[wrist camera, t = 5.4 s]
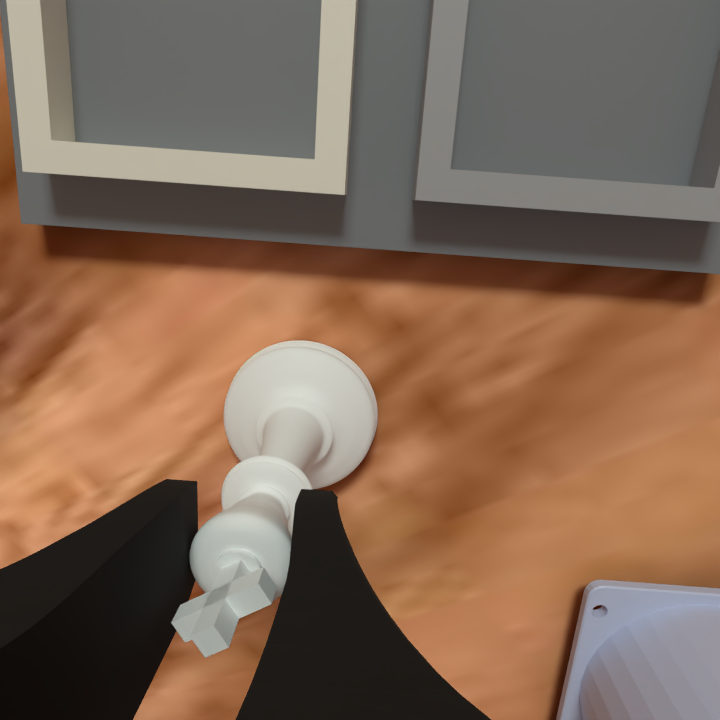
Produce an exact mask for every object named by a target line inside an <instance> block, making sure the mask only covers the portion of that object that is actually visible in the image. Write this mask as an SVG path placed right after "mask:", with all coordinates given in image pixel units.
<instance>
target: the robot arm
mask: <svg viewBox="0 0 720 720" xmlns="http://www.w3.org/2000/svg"><path fill="white" fill-rule="evenodd" d="M337 498H338V497H337V496H336V495H335V494H334V492H333V491H324V490H310V489H301V491H300V493H299V495H298V498H297V500H296V503H295V509H294V520H293V530H292V540H291V551H290V561H289V568H288V574H287V579H286V582H285V586H284V589H283V592H282V596H281V599H280V603H279V606H278V609H277V612H276V615H275V619H274V622H273V625H272V628H271V631H270V634H269V637H268V640H267V643H266V646H265V648H264V651H263V654H262V656H261V659H260V662H259V664H258V667H257V670H256V673H255V675H254V678H253V681H252V683H251V685H250V688H249V690H248V692H247V695H246V697H245V699H244V702H243V704H242V706H241V709H240V711H239V713H238V716H237V718H236V720H491V719H490V718H488V717H487V716H486V715H485V714H484V713H482V712H481V711H480V710H479V709H477V708H476V707H475V706H474V705H472V704H471V703H470V702H469V701H468V700H466V699H465V698H464V697H463V696H461V695H460V694H459V693H458V692H457V691H456V690H455V689H454V688H453V687H452V686H451V685H450V684H449V683H448V682H447V681H446V680H445V679H443V678H442V677H441V676H440V675H439V674H438V673H437V672H436V671H435V670H434V668H433V667H432V666H431V665H430V664H429V663H428V662H427V660H426V659H425V658H424V657H423V656H422V655H421V654H420V653H419V651H418V650H417V649H416V648H415V647H414V646H413V645H412V644H411V642H410V641H409V640H408V639H407V638H406V637H405V635H404V634H403V633H402V631H401V630H400V629H399V627H398V626H397V625H396V623H395V622H394V621H393V619H392V618H391V617H390V615H389V614H388V612H387V611H386V609H385V608H384V606H383V605H382V603H381V602H380V600H379V599H378V597H377V595H376V594H375V592H374V590H373V589H372V587H371V585H370V584H369V582H368V580H367V578H366V576H365V574H364V573H363V571H362V569H361V567H360V565H359V563H358V561H357V559H356V557H355V554H354V552H353V550H352V547H351V545H350V543H349V540H348V538H347V535H346V533H345V530H344V527H343V524H342V521H341V518H340V514H339V509H338V503H337ZM197 532H198V506H197V481H185V480H171V479H166V480H164V481H162V482H160V483H158V484H156V485H154V486H152V487H151V488H149V489H147V490H145V491H144V492H142V493H140V494H139V495H137V496H135V497H134V498H132V499H130V500H129V501H127V502H125V503H124V504H122V505H120V506H119V507H117V508H115V509H114V510H112V511H110V512H109V513H107V514H105V515H103V516H102V517H100V518H98V519H97V520H95V521H93V522H92V523H90V524H88V525H86V526H85V527H83V528H81V529H79V530H77V531H75V532H73V533H72V534H70V535H68V536H66V537H64V538H62V539H60V540H59V541H57V542H55V543H53V544H51V545H49V546H47V547H45V548H44V549H42V550H40V551H38V552H36V553H34V554H32V555H30V556H28V557H26V558H24V559H22V560H20V561H17V562H15V563H13V564H11V565H9V566H7V567H4V568H2V569H0V720H133V718H134V716H135V714H136V712H137V710H138V708H139V706H140V704H141V702H142V700H143V698H144V696H145V694H146V692H147V690H148V688H149V686H150V684H151V682H152V680H153V677H154V675H155V673H156V671H157V669H158V667H159V665H160V663H161V661H162V659H163V657H164V655H165V653H166V651H167V649H168V647H169V645H170V643H171V641H172V639H173V636H174V634H175V632H176V629H175V628H174V626H173V625H172V623H171V622H172V620H173V618H174V616H175V614H176V612H177V610H178V608H179V606H180V605H181V604H183V603H186V602H188V601H189V598H190V595H191V592H192V589H193V586H194V582H195V578H194V576H193V573H192V570H191V567H190V548H191V544H192V542H193V539H194V537H195V535H196V533H197ZM597 605H602V607H601V608H599V609H596V610H593V608H594V607H596V606H597ZM556 720H720V588H707V587H693V586H680V585H666V584H652V583H639V582H625V581H612V580H595V581H593V582H590V583H589V584H588V585H587V586H586V588H585V590H584V593H583V598H582V602H581V607H580V612H579V616H578V621H577V626H576V630H575V635H574V639H573V644H572V649H571V653H570V658H569V662H568V667H567V672H566V676H565V681H564V685H563V690H562V695H561V699H560V704H559V709H558V713H557V718H556Z"/></svg>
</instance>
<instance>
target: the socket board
mask: <svg viewBox="0 0 720 720" xmlns="http://www.w3.org/2000/svg"><path fill="white" fill-rule="evenodd" d="M0 13H1V23H2V33H3V43H4V53H5V63H6V74H7V84H8V94H9V104H10V114H11V124H12V134H13V144H14V155H15V165H16V175H17V185H18V195H19V205H20V215H21V223H24V224H38V225H51V226H65V227H79V228H93V229H106V230H120V231H134V232H148V233H161V234H175V235H189V236H203V237H217V238H230V239H244V240H258V241H272V242H285V243H299V244H313V245H327V246H340V247H354V248H368V249H382V250H395V251H409V252H423V253H437V254H450V255H464V256H478V257H492V258H505V259H519V260H533V261H547V262H561V263H574V264H588V265H602V266H616V267H629V268H643V269H657V270H671V271H684V272H698V273H712V274H720V0H0Z"/></svg>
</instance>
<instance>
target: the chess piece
mask: <svg viewBox="0 0 720 720" xmlns="http://www.w3.org/2000/svg"><path fill="white" fill-rule="evenodd" d="M377 420H378V411H377V403H376V398H375V395H374V392H373V389H372V387H371V385H370V383H369V381H368V379H367V377H366V376H365V374H364V373H363V372H362V370H361V369H360V368H359V367H358V366H357V365H356V364H355V363H354V362H353V361H352V360H351V359H350V358H348V357H347V356H346V355H344V354H343V353H341V352H340V351H338V350H336V349H334V348H332V347H329V346H327V345H324V344H321V343H317V342H312V341H300V340H297V341H286V342H281V343H277V344H274V345H271V346H269V347H266V348H264V349H262V350H261V351H259V352H257V353H256V354H254V355H253V356H252V357H251V358H249V359H248V360H247V361H246V362H245V363H244V364H243V365H242V366H241V368H240V369H239V370H238V372H237V373H236V375H235V377H234V379H233V381H232V383H231V385H230V388H229V391H228V393H227V396H226V400H225V405H224V426H225V431H226V435H227V438H228V441H229V443H230V446H231V448H232V450H233V451H234V453H235V454H236V456H237V457H238V459H239V460H240V461H241V462H240V463H238V464H237V465H236V466H235V467H233V468H232V469H231V471H230V472H229V473H228V475H227V476H226V478H225V480H224V483H223V487H222V508H223V511H222V512H220V513H218V514H217V515H215V516H214V517H212V518H211V519H210V520H208V521H207V522H206V523H205V524H204V525H203V526H202V527H201V528H200V529H199V531H198V532H197V533H196V535H195V537H194V539H193V542H192V544H191V548H190V567H191V570H192V573H193V576H194V578H195V580H196V581H197V583H198V584H199V586H200V587H201V588H202V589H203V590H204V591H205V592H206V593H205V594H203V595H201V596H199V597H196V598H194V599H192V600H190V601H188V602H186V603H183V604H181V605H180V606H179V608H178V610H177V612H176V614H175V616H174V618H173V620H172V622H171V623H172V625H173V626H174V628H175V629H176V630H177V632H178V633H179V635H180V636H181V637H182V639H183V640H184V642H188V641H190V640H193V641H194V643H195V644H196V646H197V647H198V649H199V650H200V651H201V653H202V654H203V656H204V657H205V658H206V657H208V656H210V655H212V654H215V653H217V652H219V651H222V650H224V649H226V648H228V647H229V645H230V643H231V640H232V637H233V634H234V631H235V629H236V626H237V623H238V620H239V618H242V617H244V616H246V615H248V614H251V613H253V612H255V611H257V610H260V609H262V608H264V607H266V606H269V605H271V604H272V601H274V600H275V599H277V598H278V597H279V596H281V595H282V592H283V589H284V586H285V582H286V579H287V574H288V568H289V561H290V551H291V540H292V530H293V520H294V509H295V503H296V500H297V498H298V495H299V493H300V491H301V489H310V490H313V489H318V488H323V487H326V486H329V485H332V484H334V483H336V482H338V481H340V480H342V479H343V478H345V477H346V476H347V475H349V474H350V473H351V472H352V471H354V470H355V469H356V468H357V466H358V465H359V464H360V463H361V462H362V460H363V459H364V457H365V456H366V454H367V452H368V450H369V448H370V445H371V443H372V441H373V439H374V436H375V432H376V428H377Z"/></svg>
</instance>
